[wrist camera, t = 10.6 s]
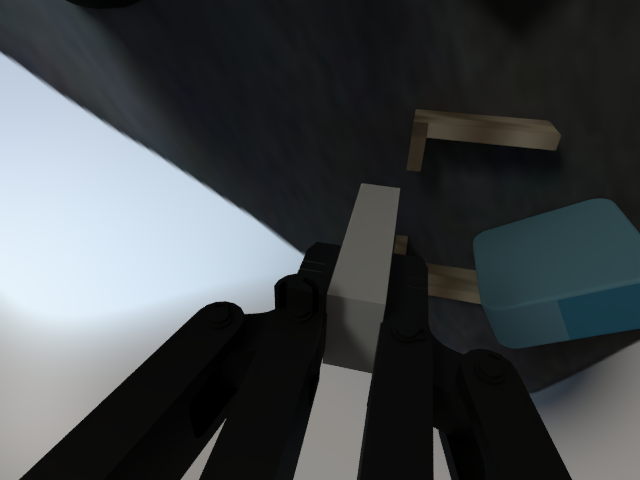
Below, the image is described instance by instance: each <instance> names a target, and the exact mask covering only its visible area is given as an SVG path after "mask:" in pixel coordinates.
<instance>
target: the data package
mask: <svg viewBox="0 0 640 480" xmlns="http://www.w3.org/2000/svg"><path fill="white" fill-rule="evenodd" d="M473 251H474V258H475V265H476V273H477V280H478V287H479V294H480V301H481V304H482V307H483V309H484V311H485V314H486V316H487V318H488V321H489V323H490V325H491V327H492V330H493V332H494V334H495V337H496V339H497V341H498V342H499V343H500V344H501V345H503V346H505V347H508V348H513V349H519V348H526V347H532V346H538V345H544V344H550V343H556V342H562V341H568V340H574V339H580V338H586V337H592V336H598V335H604V334H610V333H616V332H622V331H628V330H634V329H640V233H639V232H638V231H637V230H636V228H635V227H634V226H633V225H632V224H631V222H630V221H629V220H628V219H627V217H626V216H625V215H624V214H623V213H622V211H621V210H620V209H619V208H618V207H617V205H616V204H615V203H614V202H613V201H611V200H608V199H591V200H587V201H583V202H580V203H576V204H573V205H570V206H566V207H563V208H560V209H556V210H553V211H550V212H546V213H543V214H539V215H536V216H533V217H529V218H526V219H523V220H519V221H516V222H512V223H509V224H506V225H502V226H499V227H496V228H492V229H489V230H486V231H483V232H481V233H480V234H478V235H477V236H476V237H475V238H474V240H473Z"/></svg>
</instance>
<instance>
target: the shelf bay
mask: <svg viewBox="0 0 640 480" xmlns="http://www.w3.org/2000/svg"><path fill="white" fill-rule="evenodd" d="M560 137H561V134H560V133H559V132H558V131H557V130H556V128H555V127H554V126H553V125H552V124H551V122H550V121H546V120H535V119H524V118H512V117H501V116H490V115H478V114H467V113H456V112H444V111H433V110H421V109H416V111H415V117H414V123H413V129H412V136H411V142H410V149H409V156H408V162H407V169H406V170H410V171H418V172H420V171H421V165H422V160H423V154H424V148H425V142H426V138H436V139H445V140H455V141H465V142H475V143H485V144H495V145H505V146H515V147H525V148H535V149H545V150H555V151H556V148H557V146H558V143H559V140H560ZM407 240H408V236H403V235H396V241H395V247H394V253H396V254H403V255H406V249H407ZM425 264H426V265H427V267H428V295H431V296H437V297H442V298H448V299H454V300H460V301H466V302H471V303H477V304H481V301H480V294H479V287H478V280H477V273H476V270H469V269H463V268H457V267H450V266H444V265H438V264H432V263H425Z"/></svg>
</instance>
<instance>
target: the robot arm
mask: <svg viewBox="0 0 640 480" xmlns="http://www.w3.org/2000/svg"><path fill="white" fill-rule="evenodd" d="M66 1H68V2H71V3H73V4H76V5H79V6H83V7H88V8H94V9H107V8H120V7H125V6H129V5H132V4H134V3H136V2H138V1H139V0H66ZM399 194H400V188H394V187H386V186H379V185H371V184H363V183H361V186H360V189H359V193H358V196H357V199H356V202H355V206H354V209H353V212H352V215H351V218H350V222H349V225H348V228H347V231H346V235H345V238H344V241H343V244H342V246H339V245H333V244H326V243H320V242H316V243H315V244H314V245H313V246H311V247H310V248H309V249H308V250H307V252H306V254H305V257H304V259H303V261H302V264H301V266H300V269H299V271H298V273H297V274H293V275H288V276H285V277H284V278H282V279H280V280H279V281H278V282H277V283H276V285H275V286H274V290H275V309H274V310H272V311H269V312H264V313H258V314H257V313H256V314H244V313H243V311H242V309H241V307H239V306H237V305H236V304H234V303H230V302H226V301H225V302H215V303H212V304H209V305H206V306H205V307H203V308H202V309H200V310H199V311H198V312H197V313H196V314H195V315H194V316H193V317H192V318H191V319H189V320H188V321H187V322H186V323H185V324H184V325H183V326H182V327H181V328H180V329H179V330H178V331H177V332H176V333H175V334H173V335H172V336H171V337H170V338H169V339H168V340H167V341H166V342H165V343H164V344H163V345H162V346H161V347H160V348H159V349H157V350H156V352H154V353H153V354H152V355H151V356H150V357H149V358H148V359H147V360H146V361H145V362H144V363H143V364H142V365H141V366H140V367H138V368H137V369H136V370H135V371H134V372H133V373H132V374H131V375H130V376H129V377H128V378H127V379H126V380H125V381H123V383H121V385H119V386H118V387H117V388H116V389H115V390H114V391H113V392H112V393H111V394H110V395H109V396H108V397H106V398H105V399H104V400H103V401H102V402H101V403H100V404H99V405H98V406H97V407H96V408H95V409H94V410H93V411H92V412H91V413H90V414H88V416H86V417H85V418H84V420H82V421H81V422H80V423H79V424H78V425H77V426H76V427H75V428H74V429H72V430H71V431H70V432H69V433H68V434H67V435H66V436H65V437H64V438H63V439H62V440H61V441H60V442H59V443H58V444H57V445H55V446H54V447H53V448H52V449H51V450H50V451H49V452H48V453H47V454H46V455H45V456H44V457H43V458H42V459H41V460H40V461H38V462H37V463H36V464H35V465H34V466H33V467H32V468H31V469H30V470H29V471H28V472H27V473H26V474H25V475H24V476H23V477H22V478H20V479H19V480H181V478H182V477H183V476H184V474H185V473H186V471H187V470H188V469H189V468H190V466H191V464H192V463H193V462H194V461H195V459H196V458H197V457H198V455H199V454H200V453H201V451H202V450H203V448H204V447H205V446H206V445H207V443H208V442H209V441H210V439H211V438H212V437H213V435H214V434H215V432H216V431H217V430H218V428H219V427H220V425H221V424H222V423H223V422H224V420H225V419H226V421H225V423H224V425H223V427H222V430H221V432H220V434H219V436H218V438H217V440H216V443H215V445H214V447H213V449H212V452H211V454H210V456H209V459H208V461H207V463H206V465H205V467H204V470H203V472H202V475H201V476H200V479H199V480H293V478H294V474H295V470H296V466H297V463H298V458H299V455H300V451H301V447H302V444H303V439H304V436H305V432H306V428H307V424H308V420H309V417H310V413H311V409H312V405H313V401H314V397H315V394H316V389H317V386H318V382H319V375H320V366H321V362H322V359H323V363H324V364H329V365H335V366H339V367H344V368H349V369H353V370H358V371H363V372H368V373H372V380H371V385H370V391H369V396H368V403H367V412H366V419H365V426H364V433H363V441H362V447H361V454H360V461H359V469H358V476H357V480H434V478H433V427H434V428H436V429H438V430H439V436H440V439H441V443H442V447H443V450H444V454H445V457H446V461H447V465H448V469H449V472H450V476H451V480H572V479H571V477H570V475H569V473H568V471H567V469H566V467H565V465H564V463H563V461H562V459H561V457H560V455H559V453H558V451H557V449H556V447H555V445H554V443H553V441H552V439H551V437H550V435H549V433H548V431H547V429H546V427H545V425H544V423H543V421H542V419H541V417H540V415H539V413H538V412H537V409H536V407H535V405H534V403H533V401H532V399H531V398H530V395H529V393H528V391H527V389H526V388H525V386H524V384H523V382H522V380H521V378H520V376H519V374H518V372H517V370H516V369H515V367H514V366H513V365H512V363H511V362H510V361H508V360H507V359H506V358H504V357H503V356H502V355H500V354H498V353H495V352H493V351H491V350H485V349H475V350H470V351H469V352H467V353H466V354H464V355H463V354H461V353H459V352H456V351H454V350H452V349H450V348H448V347H446V346H445V345H443V344H442V343H440V342H439V341H438V340H437V339H436V338H435V337H434V336H433V334H432V333H431V331H430V329H429V324H428V267H427V265H426V264H425V262H424V260H423V259H422V257H415V256H409V255H403V254H396V253H392V249H393V241H394V233H395V226H396V218H397V210H398V202H399Z"/></svg>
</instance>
